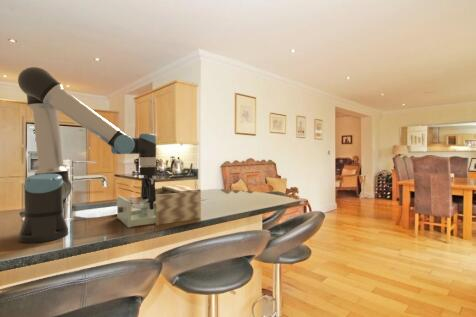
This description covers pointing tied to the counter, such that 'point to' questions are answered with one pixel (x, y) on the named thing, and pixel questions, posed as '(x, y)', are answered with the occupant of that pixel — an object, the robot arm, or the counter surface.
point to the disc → (145, 204)
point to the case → (177, 204)
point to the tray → (132, 214)
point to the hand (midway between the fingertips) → (148, 214)
